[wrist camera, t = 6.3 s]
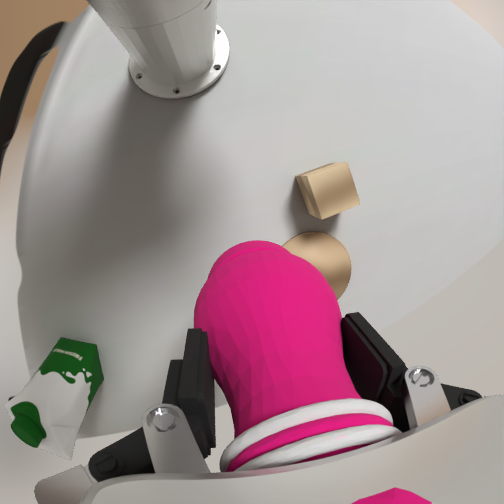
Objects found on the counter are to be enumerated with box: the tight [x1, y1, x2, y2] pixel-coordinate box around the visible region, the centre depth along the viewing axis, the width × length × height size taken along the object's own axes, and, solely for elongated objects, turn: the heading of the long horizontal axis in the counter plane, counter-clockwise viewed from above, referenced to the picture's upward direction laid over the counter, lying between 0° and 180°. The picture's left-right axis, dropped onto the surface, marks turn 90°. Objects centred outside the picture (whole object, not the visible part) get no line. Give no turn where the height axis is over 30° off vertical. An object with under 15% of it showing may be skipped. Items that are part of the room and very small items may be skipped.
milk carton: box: [5, 338, 104, 460], centre depth 27 cm, size 9×9×20 cm
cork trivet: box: [282, 232, 351, 300], centre depth 36 cm, size 11×11×1 cm
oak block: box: [295, 162, 360, 220], centre depth 31 cm, size 5×5×5 cm
